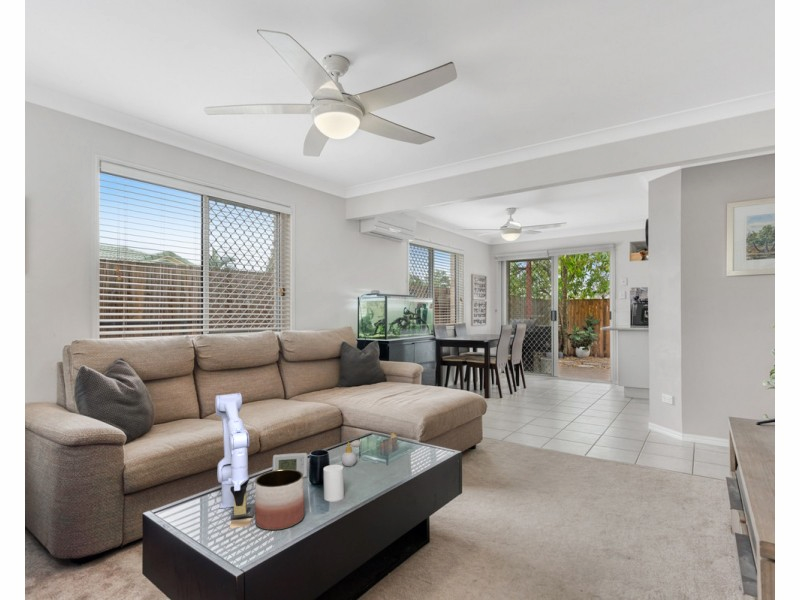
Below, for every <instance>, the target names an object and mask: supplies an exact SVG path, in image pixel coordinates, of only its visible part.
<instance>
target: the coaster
mask: <svg viewBox="0 0 800 600" xmlns="http://www.w3.org/2000/svg"><path fill="white" fill-rule="evenodd" d="M251 523H252V518H247V519H239V520H232V521H231V520H230V524H229V529H236V528H244V527H251Z"/></svg>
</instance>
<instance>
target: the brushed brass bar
mask: <svg viewBox="0 0 800 600" xmlns="http://www.w3.org/2000/svg"><path fill="white" fill-rule="evenodd" d="M247 493H248V490H247V489H246V490H245V493H244V500H243V505H242V506H236V503H235V499H234V507H233V508H234V515H241V514H247V512H246V511H247V504H248V494H247Z"/></svg>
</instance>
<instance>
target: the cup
mask: <svg viewBox="0 0 800 600" xmlns="http://www.w3.org/2000/svg"><path fill="white" fill-rule="evenodd" d="M344 498H345V486H344V466H343V465H341V464H330V465H326V466H324V467H323V499H324V501H327V502H339V501H342V500H343V499H344Z"/></svg>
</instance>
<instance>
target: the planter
mask: <svg viewBox="0 0 800 600" xmlns="http://www.w3.org/2000/svg"><path fill="white" fill-rule="evenodd" d="M304 484H305V483H304V478H303V473H302V472H300V471H297V470H292V469H282V470H274V471H272V470H271V471H268V472H264V473H262V474H260V475H258V476H257V477H256V478H255V479H254V503H255V512H254V520H255V521H254V522H255V525H257V527H259V528H261V529H263V530H266V531H267V530H268V531H269V530H270V531H278V530H284V529H288V528H291V527H293V526H296V525H298V523H300V522H301V521H302V520H303V519H304V518H305V509H306V508H305V488H304V487H305V486H304Z"/></svg>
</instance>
